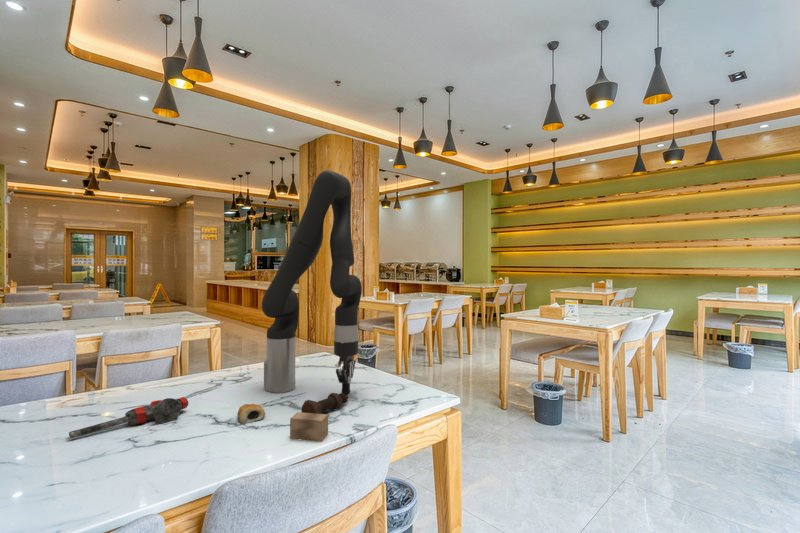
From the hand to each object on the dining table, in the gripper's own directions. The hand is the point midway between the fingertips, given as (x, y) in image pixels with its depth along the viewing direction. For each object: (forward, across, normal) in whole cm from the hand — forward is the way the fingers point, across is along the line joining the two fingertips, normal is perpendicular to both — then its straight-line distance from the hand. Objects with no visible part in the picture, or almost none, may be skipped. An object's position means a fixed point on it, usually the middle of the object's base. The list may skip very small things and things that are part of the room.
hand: (345, 394), depth 123 cm
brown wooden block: (+1, +28, 0) cm, 28 cm away
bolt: (+2, +12, -2) cm, 12 cm away
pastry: (+2, +20, -21) cm, 29 cm away
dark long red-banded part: (+2, +28, -49) cm, 57 cm away
